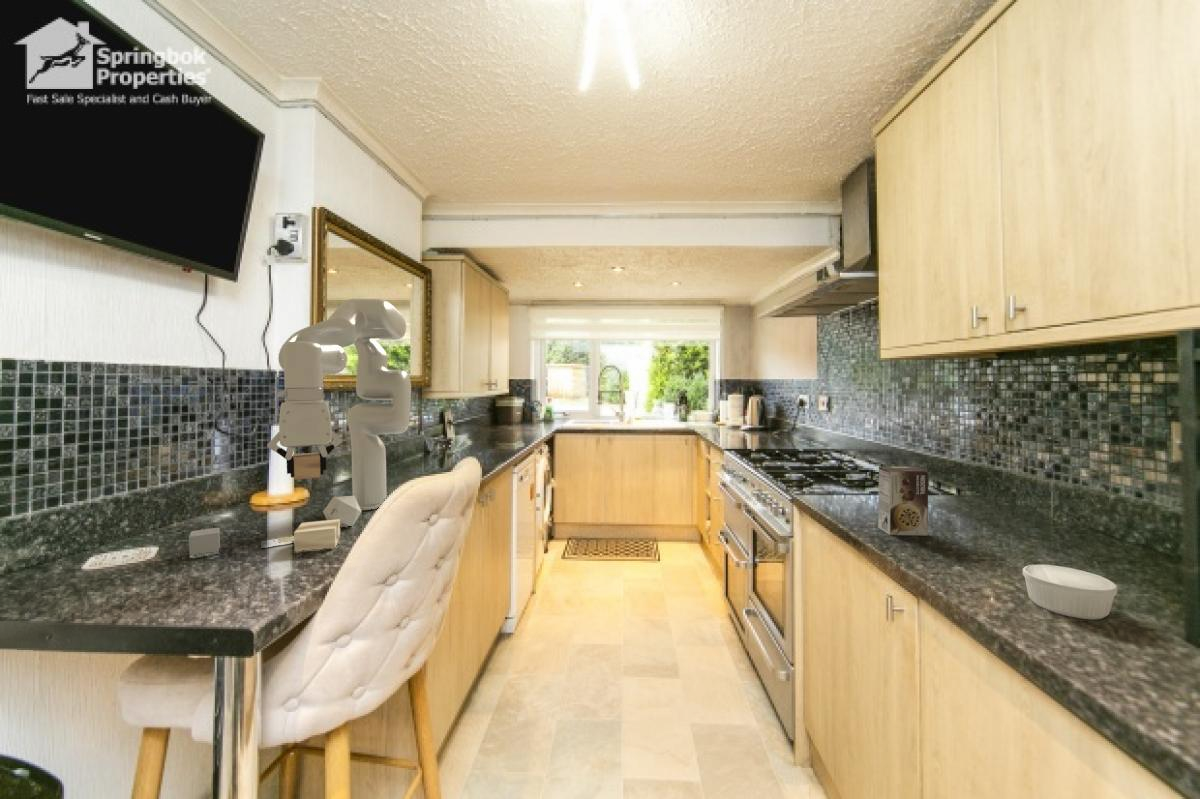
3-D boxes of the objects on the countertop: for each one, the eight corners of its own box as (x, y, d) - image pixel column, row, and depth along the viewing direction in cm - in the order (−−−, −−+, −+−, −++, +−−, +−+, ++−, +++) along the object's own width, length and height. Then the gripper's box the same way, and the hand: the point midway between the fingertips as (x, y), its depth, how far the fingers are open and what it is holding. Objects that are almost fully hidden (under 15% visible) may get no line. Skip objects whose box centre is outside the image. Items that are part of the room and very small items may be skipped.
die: (321, 528, 128) (313, 504, 122) (346, 505, 134) (340, 482, 129) (344, 541, 126) (338, 518, 120) (370, 518, 133) (364, 495, 127)
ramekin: (1004, 593, 86) (1005, 564, 85) (1063, 591, 86) (1064, 562, 86) (1070, 625, 74) (1071, 591, 74) (1136, 622, 75) (1138, 589, 75)
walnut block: (293, 476, 111) (292, 454, 111) (318, 473, 114) (317, 452, 114) (294, 479, 107) (293, 457, 107) (320, 477, 110) (319, 455, 109)
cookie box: (914, 528, 124) (915, 466, 123) (928, 536, 117) (930, 470, 117) (876, 527, 124) (877, 465, 124) (889, 535, 118) (890, 470, 117)
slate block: (191, 553, 108) (191, 531, 107) (220, 548, 110) (219, 527, 110) (189, 559, 103) (188, 537, 103) (219, 555, 106) (218, 532, 106)
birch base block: (302, 543, 114) (301, 522, 114) (340, 539, 117) (339, 519, 117) (294, 554, 107) (294, 532, 107) (335, 550, 110) (334, 528, 110)
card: (260, 542, 114) (260, 540, 114) (299, 536, 119) (299, 534, 119) (260, 549, 110) (260, 547, 110) (301, 542, 114) (301, 540, 114)
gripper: (258, 397, 102) (261, 482, 102) (348, 395, 111) (350, 473, 112) (259, 396, 108) (261, 476, 109) (344, 394, 117) (346, 468, 118)
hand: (307, 474), depth 110 cm, fingers closed on walnut block, 4 cm apart
